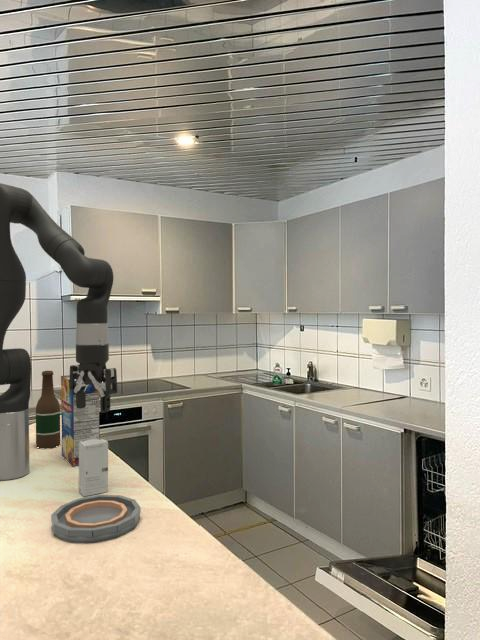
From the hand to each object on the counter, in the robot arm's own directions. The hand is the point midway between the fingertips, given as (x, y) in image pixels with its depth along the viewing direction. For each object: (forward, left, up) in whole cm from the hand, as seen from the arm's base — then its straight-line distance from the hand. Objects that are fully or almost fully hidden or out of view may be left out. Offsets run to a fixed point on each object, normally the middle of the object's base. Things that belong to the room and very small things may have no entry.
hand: (92, 410), depth 114 cm
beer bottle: (-43, +18, -20) cm, 51 cm away
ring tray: (+14, -11, -20) cm, 26 cm away
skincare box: (0, 0, -20) cm, 20 cm away
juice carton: (-23, +15, -20) cm, 34 cm away
